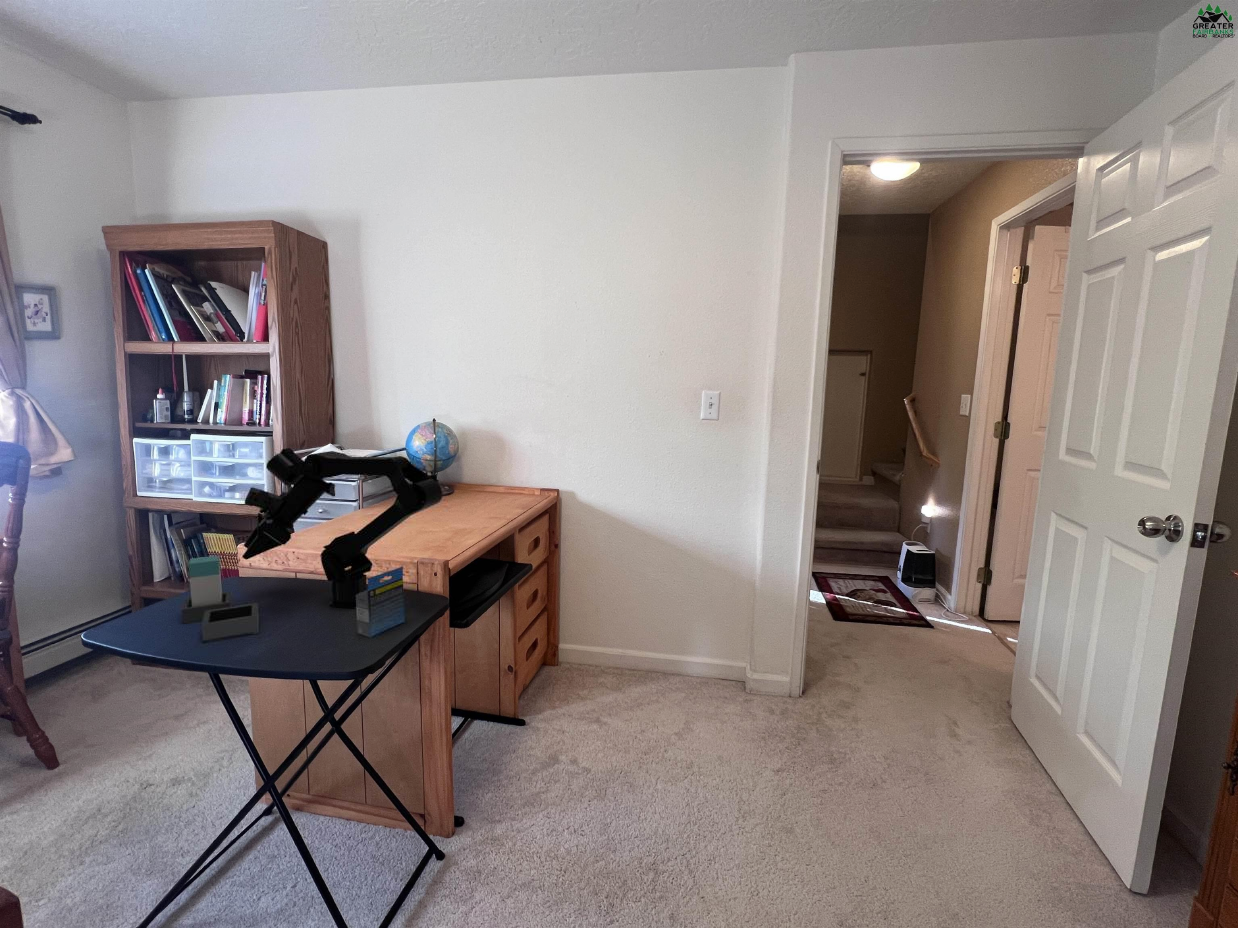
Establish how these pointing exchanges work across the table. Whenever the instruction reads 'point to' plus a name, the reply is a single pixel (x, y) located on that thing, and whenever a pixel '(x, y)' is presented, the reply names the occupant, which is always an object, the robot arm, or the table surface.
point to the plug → (205, 581)
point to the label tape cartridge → (381, 604)
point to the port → (230, 622)
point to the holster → (202, 608)
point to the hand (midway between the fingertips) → (244, 552)
